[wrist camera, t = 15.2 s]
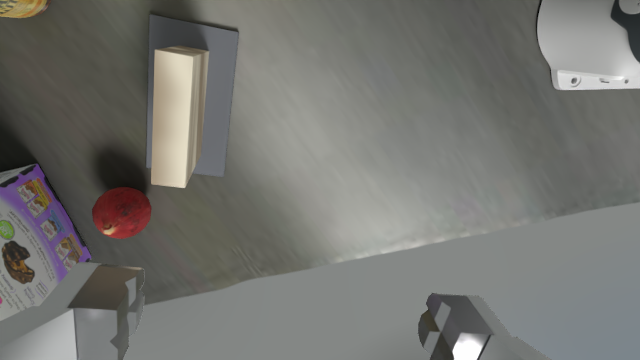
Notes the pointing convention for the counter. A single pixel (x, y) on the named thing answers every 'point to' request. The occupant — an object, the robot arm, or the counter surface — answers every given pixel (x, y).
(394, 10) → the counter surface
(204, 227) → the counter surface
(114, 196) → the onion
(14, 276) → the candy box
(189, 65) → the pale wooden block
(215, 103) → the felt pad
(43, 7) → the sauce bottle
